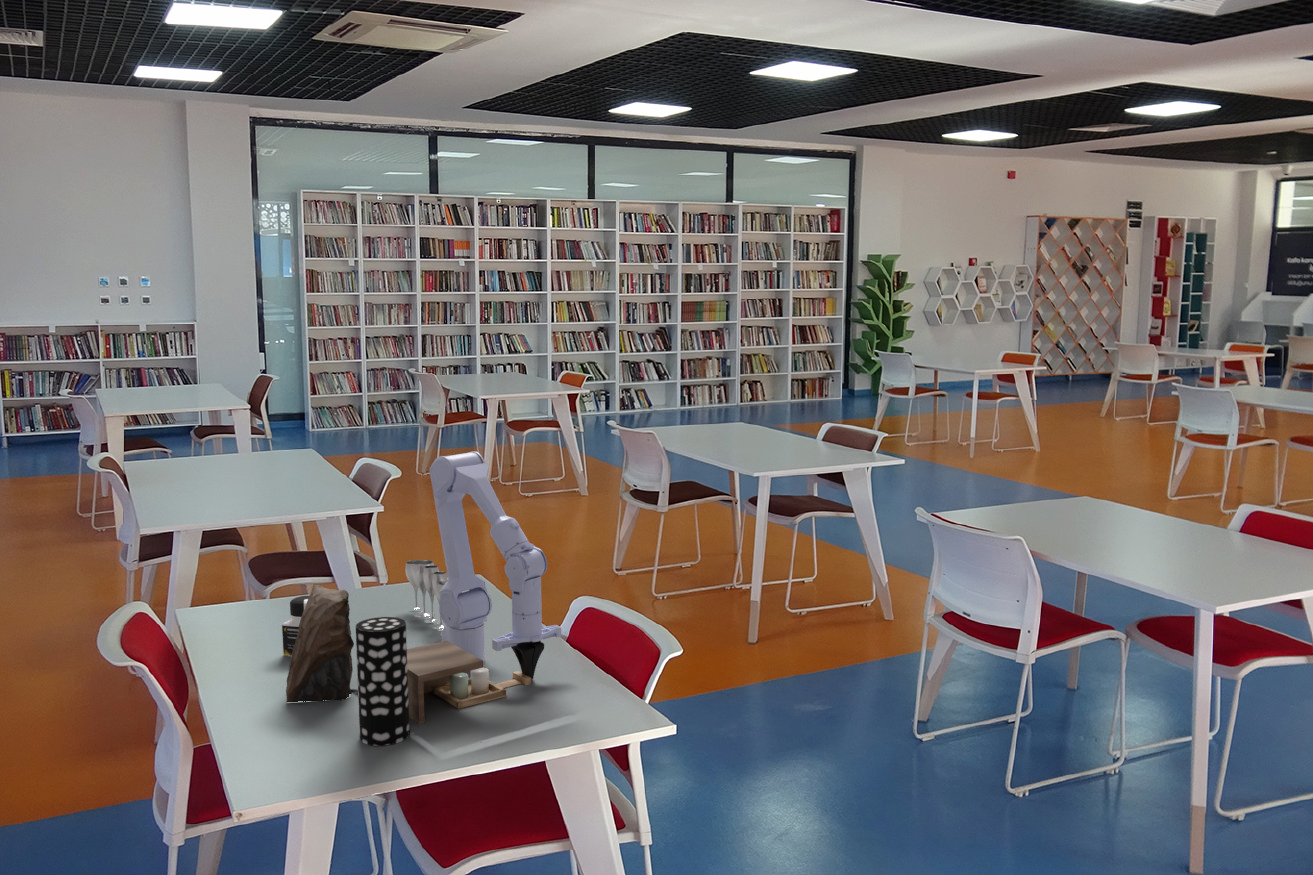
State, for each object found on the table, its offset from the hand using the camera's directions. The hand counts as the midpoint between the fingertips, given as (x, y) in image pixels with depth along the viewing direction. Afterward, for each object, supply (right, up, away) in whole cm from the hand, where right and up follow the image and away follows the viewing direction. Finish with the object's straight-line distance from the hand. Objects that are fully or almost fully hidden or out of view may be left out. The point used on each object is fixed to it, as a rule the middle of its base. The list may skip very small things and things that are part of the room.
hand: (528, 678), depth 207 cm
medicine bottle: (-50, +1, +19) cm, 54 cm away
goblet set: (-27, +4, +41) cm, 49 cm away
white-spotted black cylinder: (-22, -5, -24) cm, 33 cm away
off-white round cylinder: (-8, -1, -7) cm, 11 cm away
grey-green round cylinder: (-12, -1, -9) cm, 15 cm away
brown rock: (-40, -2, -4) cm, 40 cm away
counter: (-15, -3, -12) cm, 19 cm away
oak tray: (-7, -2, -6) cm, 9 cm away
